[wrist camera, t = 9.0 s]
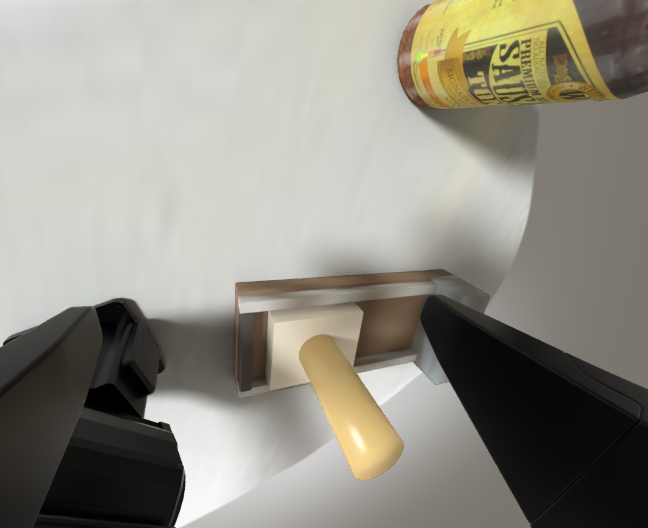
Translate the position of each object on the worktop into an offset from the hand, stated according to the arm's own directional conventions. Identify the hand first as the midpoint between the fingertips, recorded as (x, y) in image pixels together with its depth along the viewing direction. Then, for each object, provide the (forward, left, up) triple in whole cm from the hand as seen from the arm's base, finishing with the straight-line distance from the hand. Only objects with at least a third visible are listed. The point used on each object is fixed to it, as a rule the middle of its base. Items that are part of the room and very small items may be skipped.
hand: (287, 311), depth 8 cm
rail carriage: (+2, -12, -12) cm, 17 cm away
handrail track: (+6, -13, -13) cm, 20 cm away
